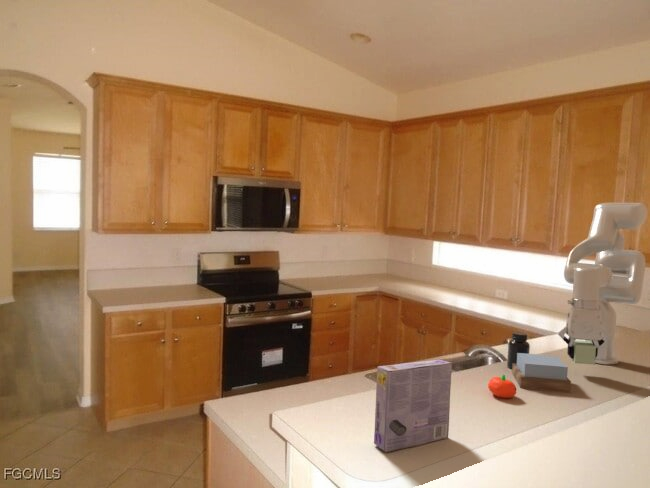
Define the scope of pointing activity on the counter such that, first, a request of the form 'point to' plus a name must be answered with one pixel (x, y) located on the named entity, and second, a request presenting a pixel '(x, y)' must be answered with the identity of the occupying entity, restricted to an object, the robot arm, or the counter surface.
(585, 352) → the sage block
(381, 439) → the cake pan box
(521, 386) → the walnut base block
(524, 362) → the slate top block
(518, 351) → the supplement bottle
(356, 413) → the counter surface
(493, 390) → the pumpkin
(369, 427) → the counter surface
